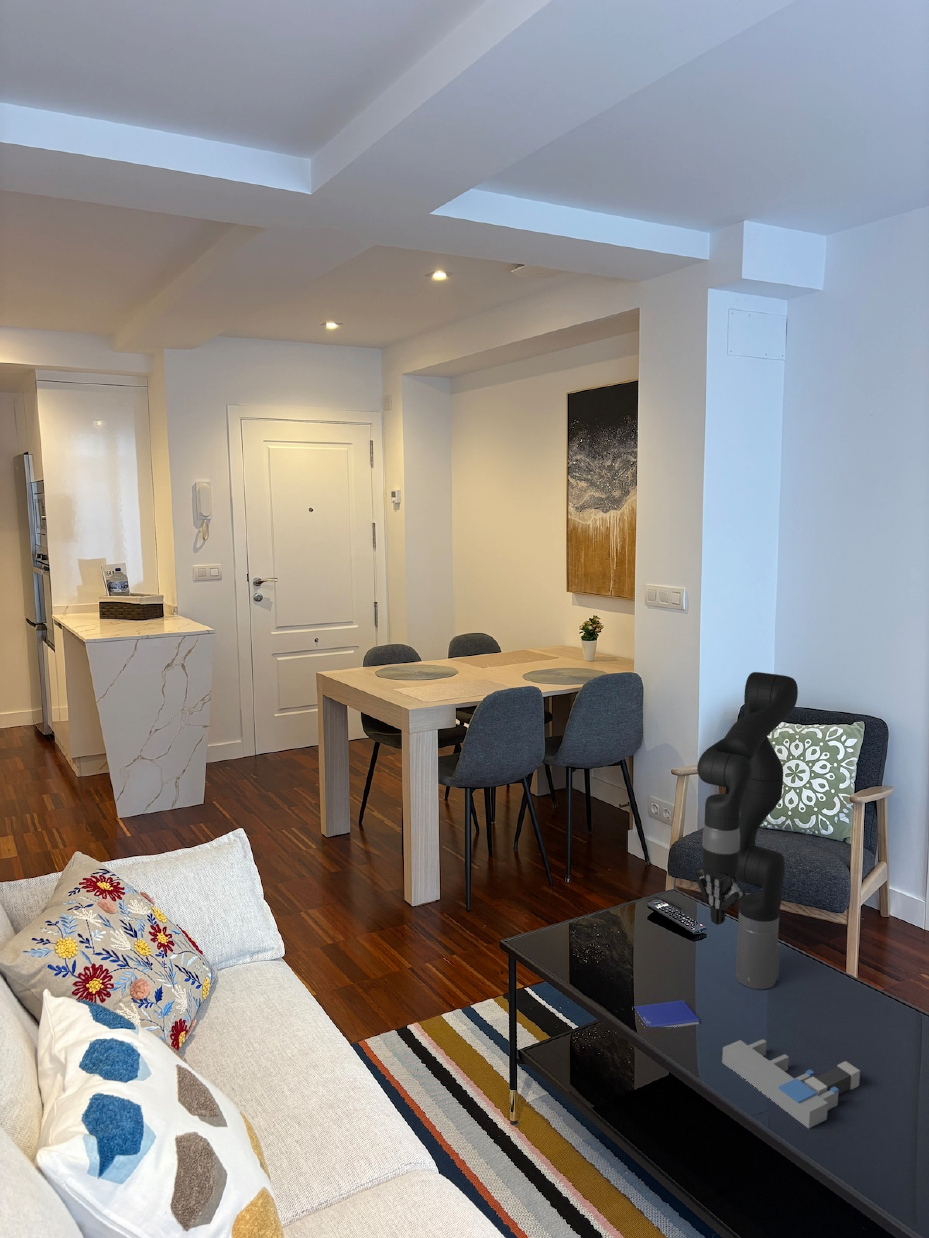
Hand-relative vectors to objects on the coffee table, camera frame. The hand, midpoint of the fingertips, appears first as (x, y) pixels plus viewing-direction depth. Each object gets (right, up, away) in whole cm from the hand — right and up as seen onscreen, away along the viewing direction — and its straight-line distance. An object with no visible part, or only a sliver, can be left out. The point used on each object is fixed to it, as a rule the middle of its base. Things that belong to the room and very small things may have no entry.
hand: (717, 922), depth 191 cm
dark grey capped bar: (+19, -29, -12) cm, 37 cm away
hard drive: (-8, -26, +12) cm, 30 cm away
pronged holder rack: (+10, -29, -10) cm, 32 cm away
